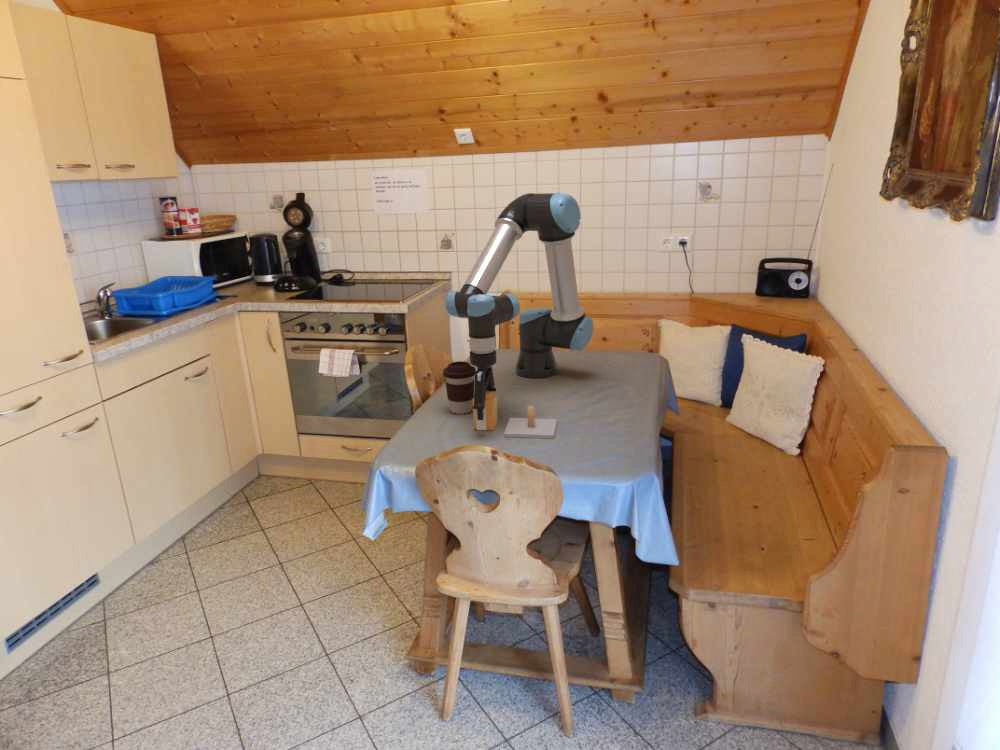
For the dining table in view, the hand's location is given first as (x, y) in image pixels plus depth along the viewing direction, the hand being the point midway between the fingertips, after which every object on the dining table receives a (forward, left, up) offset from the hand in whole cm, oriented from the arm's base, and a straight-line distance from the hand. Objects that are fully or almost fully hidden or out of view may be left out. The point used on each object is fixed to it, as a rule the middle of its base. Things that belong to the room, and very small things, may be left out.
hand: (485, 420), depth 197 cm
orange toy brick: (0, 0, -2) cm, 2 cm away
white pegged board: (+1, +14, -2) cm, 14 cm away
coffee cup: (-12, -10, -2) cm, 16 cm away
